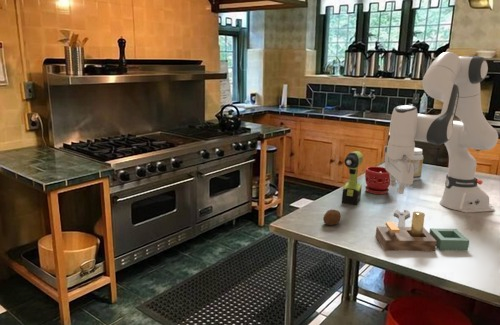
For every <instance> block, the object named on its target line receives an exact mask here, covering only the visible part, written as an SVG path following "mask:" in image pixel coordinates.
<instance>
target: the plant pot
mask: <svg viewBox="0 0 500 325" xmlns="http://www.w3.org/2000/svg"><path fill="white" fill-rule="evenodd" d="M389 175H390V173H389V172H388V171H386V169H385V167H383V166H368V167H366V168H365V175H364V176H365V177H364V178H365V184H366V185H365V187H364V188H365V190H366V191H367V192H368V193H370V194H372V195H373V194H374V195H385V194H387V193H389V191H390V190H389V187H390V186H391V185H390V176H389Z"/></svg>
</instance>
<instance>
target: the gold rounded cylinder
mask: <svg viewBox="0 0 500 325" xmlns="http://www.w3.org/2000/svg"><path fill="white" fill-rule="evenodd" d="M425 216H426V214H425V212H421V211H413V212H412V216H411V226H410V227H411V233H410V236H411V237H422V232H423V227H424V222H425Z"/></svg>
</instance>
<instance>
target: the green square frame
mask: <svg viewBox="0 0 500 325" xmlns="http://www.w3.org/2000/svg"><path fill="white" fill-rule="evenodd" d="M428 232H429V233H430V235H431V236H432V237H433V238H434V239H435V240H436V241H437V243H436V249H438V250H439V251H455V252H456V251H460V252H461V251H469V246H470V239H468V238H467V237H466V236H465V234H463V233H462V232H460V230H458V229H457V228H433V227H432V228H429V231H428Z"/></svg>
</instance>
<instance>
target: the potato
mask: <svg viewBox="0 0 500 325" xmlns="http://www.w3.org/2000/svg"><path fill="white" fill-rule="evenodd" d="M341 216H342V214H341V212H340V210H337V209H332V208H331V209H329V210H327V211H326V212H325V213H324V215H323V218H322V219H323V223H324V224H325V225H327V226H333V225H334V226H335V225H337V224H338V223H340V221H341V219H342V217H341Z"/></svg>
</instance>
